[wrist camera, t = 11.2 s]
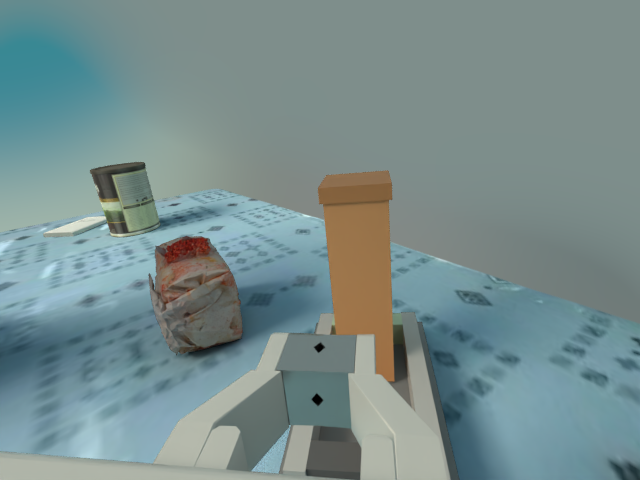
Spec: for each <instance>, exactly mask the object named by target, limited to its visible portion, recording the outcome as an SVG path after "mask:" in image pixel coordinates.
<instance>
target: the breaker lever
mask: <svg viewBox="0 0 640 480" xmlns="http://www.w3.org/2000/svg"><path fill="white" fill-rule="evenodd" d="M318 194H319V204H323V207H324V217H325V228H326V238H327V248H328V258H329V268H330V279H331V289H332V299H333V309H334V319H335V330H336V335H357V334H374V335H375V350H376V374H380V375H382V376H383V377H384V378H385V379H386V380H387V381H393V382H394V351H393V320H392V288H391V257H390V230H389V229H390V228H389V227H390V226H389V200H392V182H391V179H390V175H389V171H376V172H363V173H349V174H336V175H326V177H325V178H324V180H323V181H322V183H321V184H320V186H319V187H318Z"/></svg>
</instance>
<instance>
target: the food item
mask: <svg viewBox="0 0 640 480" xmlns="http://www.w3.org/2000/svg"><path fill="white" fill-rule="evenodd" d="M155 247H156V250H155V258H156V273H157V275H156V277H155V280H156V281H155V290H154V284H153V280H152V277H151V275H150V273H149V286H150V294H151V300H152V304H153V308H154V312H155V316H156V319H157V321H158V323H159V325H160V327H161V330H162V334H163V336H164V338H165V340H166V342H167V344H168V346H169V348H170V349H171V350H172V351H173V352H174V353H176V355H177V354H178V352H179V353H181V354H184V353H186V352H192V351H198V350H202V349H206V348H208V347H209V348H210V347H214V346H217V345H221V344H224V343H227V342H231V341H234V340H237V339H240V338H241V335H242V333H243V331H242V316H241V312H240V304H241V302H240V300H239V299H238V295H239V293H238V291H237V285H236V282H235V279H234V277H233V275H232V273H231V271H230V269H229V267H228V265H227V264H226V262H225V261H224V260H223V258H222V257H221V256H220V255H219V253H218V252H217V250H216V248H215V247H214V246H213V245H212V244H211V242H210V239H209V238H204V237H202V236H194V237H187V236H185V237H181V238H177V239H174V240H171V241H169V242H166V243H163V244H161V245H160V246H155Z"/></svg>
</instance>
